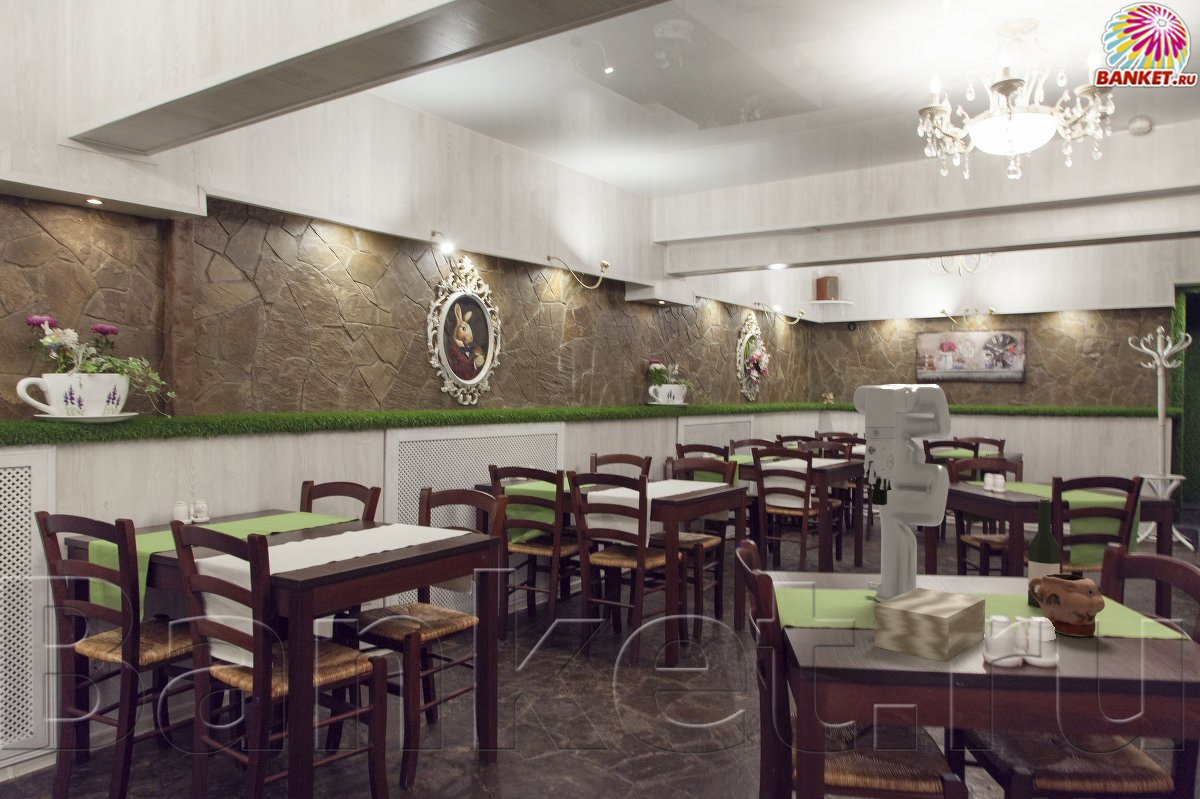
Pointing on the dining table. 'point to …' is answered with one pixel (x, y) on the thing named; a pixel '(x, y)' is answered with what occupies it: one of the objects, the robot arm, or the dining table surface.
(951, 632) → the mottled beige box
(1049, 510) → the wine bottle
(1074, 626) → the animal face pitcher
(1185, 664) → the dining table surface
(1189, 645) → the dining table surface
